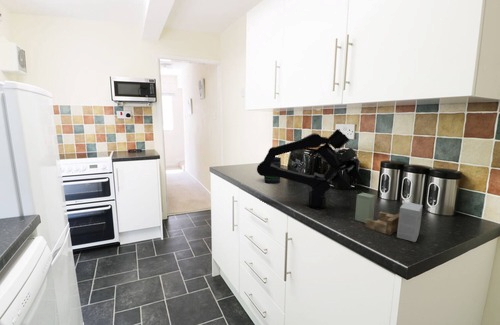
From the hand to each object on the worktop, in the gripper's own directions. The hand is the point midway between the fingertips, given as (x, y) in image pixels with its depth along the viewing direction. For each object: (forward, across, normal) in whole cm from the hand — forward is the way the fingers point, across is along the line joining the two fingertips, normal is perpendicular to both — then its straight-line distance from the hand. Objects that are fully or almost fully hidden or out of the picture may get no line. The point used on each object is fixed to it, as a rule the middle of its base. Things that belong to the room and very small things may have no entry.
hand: (356, 184), depth 103 cm
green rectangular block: (+12, -3, +7) cm, 14 cm away
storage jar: (-38, +11, +50) cm, 63 cm away
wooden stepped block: (+17, -3, +2) cm, 17 cm away
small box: (+24, -4, -3) cm, 25 cm away
